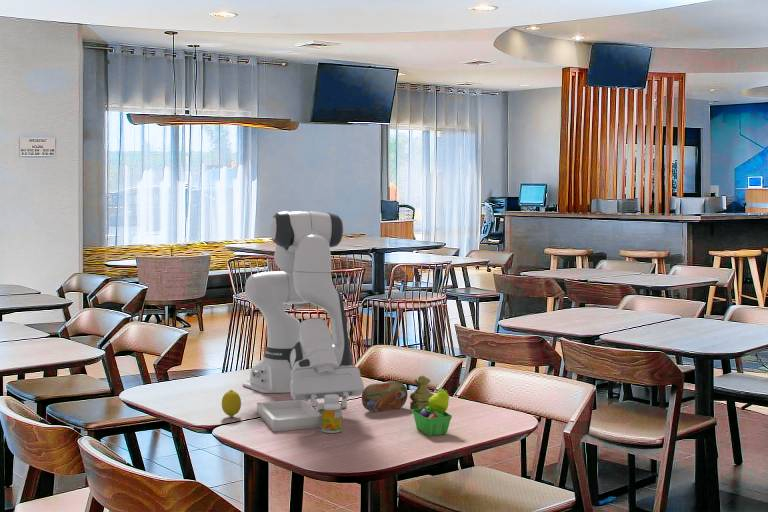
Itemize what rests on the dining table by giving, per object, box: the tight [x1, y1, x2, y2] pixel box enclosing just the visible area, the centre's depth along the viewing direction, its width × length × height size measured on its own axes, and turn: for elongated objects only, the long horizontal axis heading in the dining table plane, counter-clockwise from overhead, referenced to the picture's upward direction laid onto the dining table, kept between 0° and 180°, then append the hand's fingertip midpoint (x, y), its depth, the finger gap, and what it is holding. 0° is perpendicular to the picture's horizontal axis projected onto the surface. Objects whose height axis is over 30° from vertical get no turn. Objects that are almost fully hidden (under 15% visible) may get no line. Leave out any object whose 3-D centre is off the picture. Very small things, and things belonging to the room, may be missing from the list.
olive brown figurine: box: [409, 375, 435, 411], centre depth 274 cm, size 7×7×10 cm
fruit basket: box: [411, 388, 453, 437], centre depth 249 cm, size 11×9×11 cm
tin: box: [361, 380, 408, 414], centre depth 273 cm, size 15×3×8 cm, turn 122°
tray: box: [256, 399, 322, 432], centre depth 261 cm, size 22×14×3 cm, turn 19°
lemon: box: [221, 389, 242, 418], centre depth 264 cm, size 6×6×8 cm
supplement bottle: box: [321, 394, 343, 434], centre depth 248 cm, size 5×5×10 cm
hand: (332, 409), depth 248 cm, fingers closed on supplement bottle, 5 cm apart
